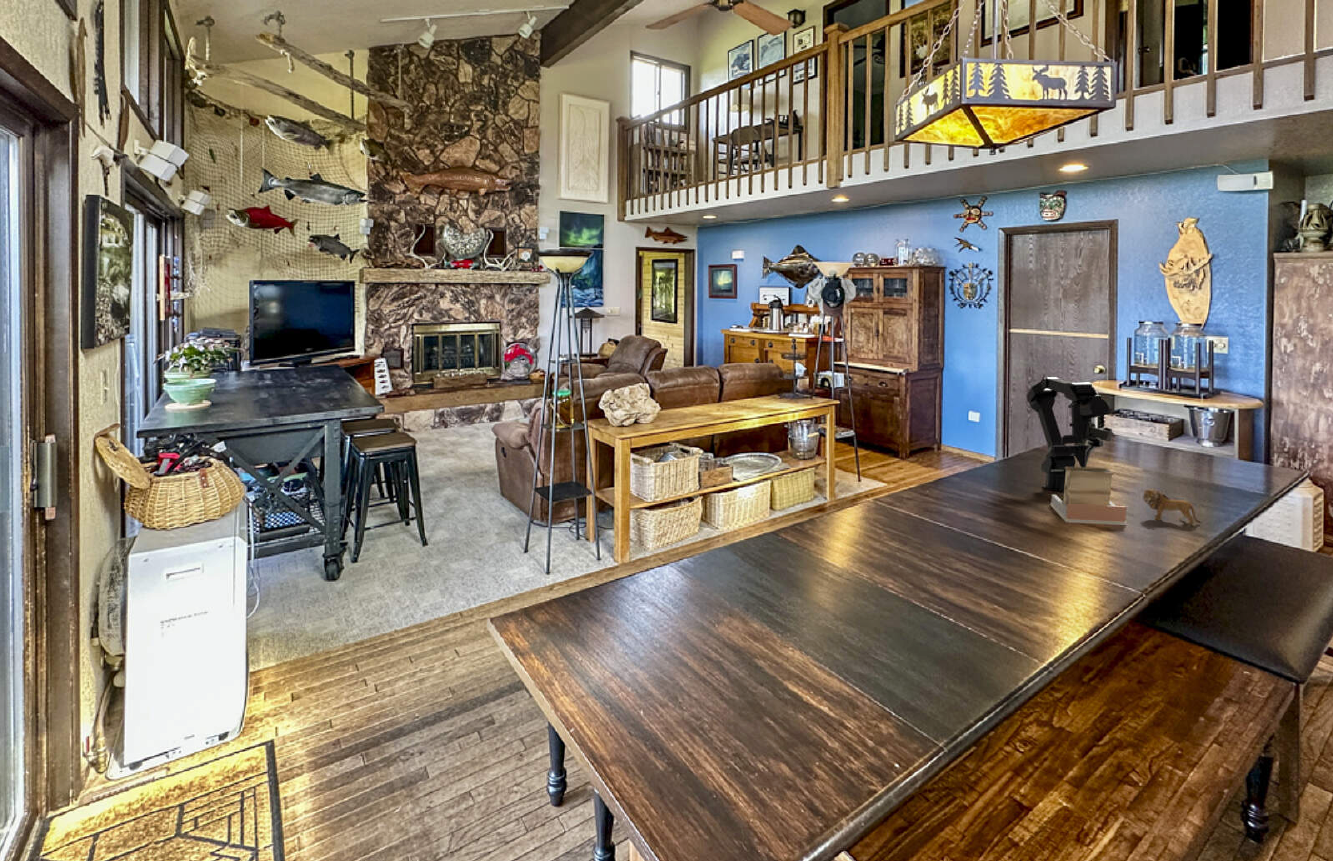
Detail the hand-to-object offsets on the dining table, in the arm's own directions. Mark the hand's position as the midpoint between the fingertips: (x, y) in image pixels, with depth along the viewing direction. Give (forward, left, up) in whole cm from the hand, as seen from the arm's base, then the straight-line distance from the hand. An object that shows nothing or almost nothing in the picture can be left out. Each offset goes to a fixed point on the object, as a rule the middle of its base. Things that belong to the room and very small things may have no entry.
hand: (1083, 467), depth 226 cm
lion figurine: (+22, +11, -12) cm, 28 cm away
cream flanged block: (+10, -7, -11) cm, 16 cm away
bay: (+11, -7, -12) cm, 18 cm away
